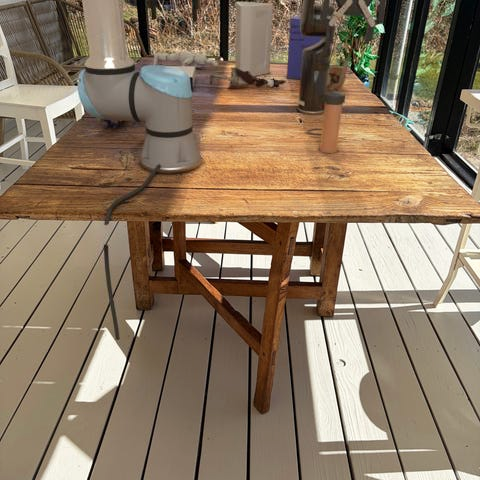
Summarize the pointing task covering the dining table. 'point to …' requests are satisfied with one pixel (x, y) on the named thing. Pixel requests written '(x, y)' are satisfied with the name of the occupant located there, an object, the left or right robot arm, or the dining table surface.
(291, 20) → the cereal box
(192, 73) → the disc drive
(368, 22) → the right robot arm
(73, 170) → the dining table surface
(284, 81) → the figurine
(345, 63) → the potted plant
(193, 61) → the toy
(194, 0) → the left robot arm
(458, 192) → the dining table surface
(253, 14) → the tall white carton
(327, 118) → the wooden cylinder
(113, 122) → the figurine character
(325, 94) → the lid
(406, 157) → the dining table surface
